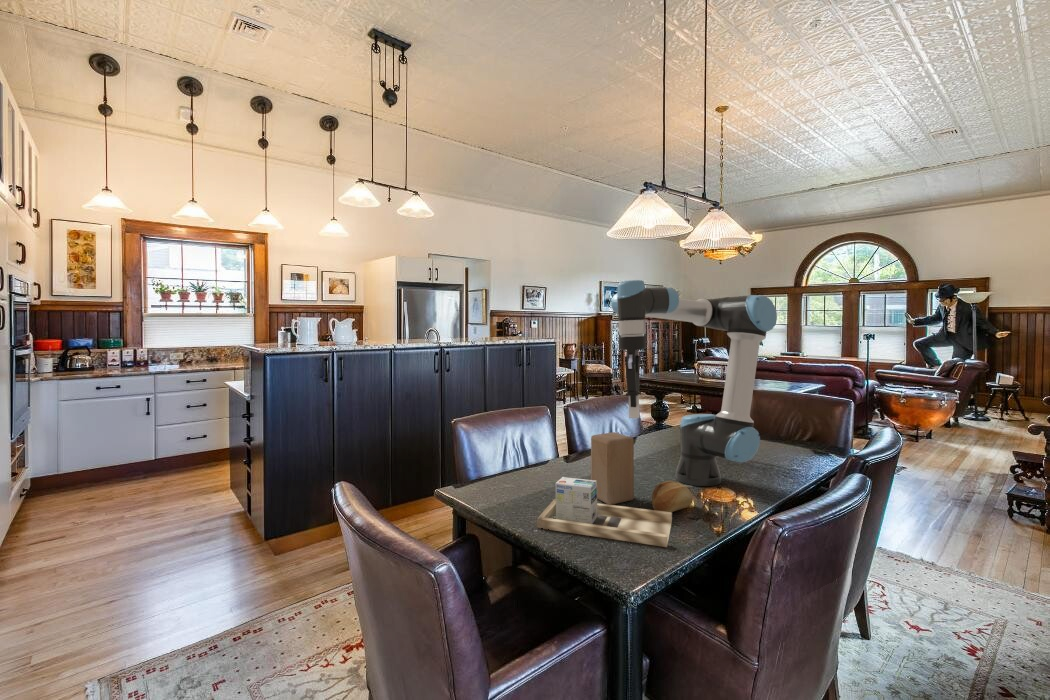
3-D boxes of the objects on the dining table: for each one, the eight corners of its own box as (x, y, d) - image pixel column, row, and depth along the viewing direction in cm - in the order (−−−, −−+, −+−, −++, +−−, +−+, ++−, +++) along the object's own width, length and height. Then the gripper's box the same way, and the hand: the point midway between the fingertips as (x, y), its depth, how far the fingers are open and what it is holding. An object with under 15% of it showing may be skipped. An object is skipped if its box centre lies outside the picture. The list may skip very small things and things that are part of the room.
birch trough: (671, 522, 133) (671, 512, 132) (666, 548, 117) (666, 537, 117) (555, 507, 145) (555, 498, 145) (537, 529, 129) (536, 518, 129)
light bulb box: (598, 516, 136) (597, 479, 136) (592, 526, 130) (591, 487, 129) (562, 511, 140) (562, 475, 140) (554, 520, 134) (554, 482, 133)
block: (609, 506, 144) (609, 441, 143) (590, 496, 153) (589, 434, 152) (635, 500, 149) (634, 437, 148) (615, 491, 157) (614, 431, 156)
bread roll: (642, 511, 140) (642, 484, 140) (671, 499, 150) (671, 474, 149) (671, 521, 133) (671, 493, 132) (699, 507, 142) (699, 481, 142)
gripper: (622, 334, 142) (624, 412, 144) (614, 336, 130) (617, 422, 132) (648, 334, 140) (650, 413, 141) (643, 336, 128) (645, 423, 129)
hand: (634, 417), depth 136 cm, fingers closed
